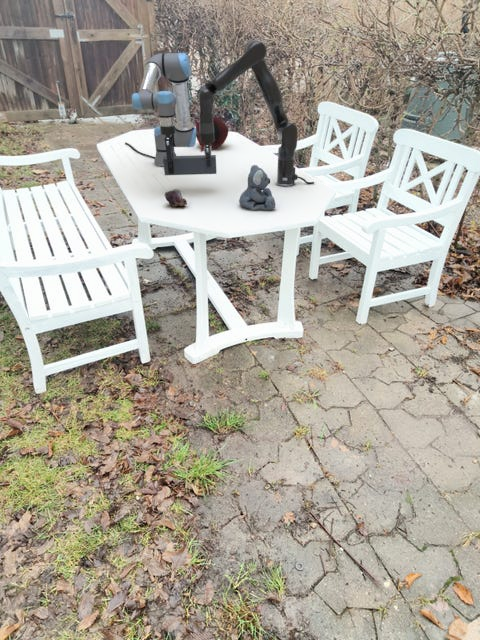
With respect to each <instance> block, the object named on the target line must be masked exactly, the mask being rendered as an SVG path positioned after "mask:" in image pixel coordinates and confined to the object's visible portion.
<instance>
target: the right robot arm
mask: <svg viewBox="0 0 480 640" xmlns="http://www.w3.org/2000/svg"><path fill="white" fill-rule="evenodd" d="M267 52H268V51H267V47H266V45H265V43H263V42H262V41H260V40H257V39H250V40H248V41H246V43H245V45H244V48H243V54H242V56H240V58H238V59H237V60H236V61H235V62H233V63H231V64H230V65H228V66H226V67H225V68H224V69H222V70H221V71H219V72H218V73H217V74H216V75H215V76H214V77H213V78H212V79H211V80H210V81H207V82H205V84H203V85H202V86H201V87H200V88H198V90H197V91H196V98H197V101H198V102H199V111H198V121H199V122H198V123H199V131H200V141H201V142H204V143H205V145H204V148H203V151H204V155H205V156H206V158H205V159H206V166H207V167H211V163H210V159H211V158H210V155H212V149H211V148H212V146H211V144H210V142H214V140H215V138H214V124H213V117H214V97H215V95H217V94H218V93H222V92H223V91H224V90H226V89H227V88H228V87H229V86H230V85H232V84H233V82H234V81H236V80H237V79H238V78H239V77H240V76H241V75H243V74H244V73H245V72H247V71H248V70H250V69H251V70H252V72H253V74H254V76H255V80H256V82H257V85H258V88H259V90H260V93H261V96H262V98H263V101H264V103H265V105H266V107H267V109H268V111H269V113H270V116H271V118H272V120H273V123H274V127H275V130H276V134H277V135H278V137H279V138H280V139H281V142H280V143H281V144H280V146H279V147H278V149H277V173H276V175H277V176H276V185H277V186H279V187H291V186H294V185H295V181H298V179H299V180H301V181H303V182H304V183H305V184H308V185H313V184H315V182H314V181H307V180H306V179H305V178H303V177H301V176H299V175H298V174H296V167H295V160H296V159H295V156H296V150H297V146H298V138H299V130H298V126H297V125H296V124H295V123H293V122H290V120H289V118H288V117H287V114H286V111H285V108H284V97H283V94H282V91H281V88H280V86H279V84H278V82H277V80H276V78H275V76H274V75H273V73H272V72H271V71H270V69H269V67H268V64H267V63H266V60H265V58H266V56H267ZM207 155H209V157H207Z"/></svg>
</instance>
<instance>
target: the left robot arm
mask: <svg viewBox="0 0 480 640" xmlns="http://www.w3.org/2000/svg"><path fill="white" fill-rule="evenodd" d="M191 76H192V66H191V61H190V57H189V56H188V54H187V53H183V52H166V53H165V52H164V53H163V52H161V53H156V54H154V55H152V56H151V57H150V58H149V59H148V60H146V63H145V64H144V67H143V77H142V81H141V83H140V88H139V90H138V92H134V93H132V95H131V104H132V107H133V109H134V110H141V111H144V110H158V111H157V112H158V121H159V126H156V127H155V128H154V129H153V136H154V145H155V155H154V156H153V155H150V154H146V153H143V152H141V151H139V150H138V149H136V148H135V147H134V146H132V145H131V144H130V143H129V142H124V144H125V145H127V146H129V147H130V148H131V149H132V150H134V151H135V152H136V153H137V154H140V155H142V156H145V157H148V158H152V159H154V165H155V166H157V167H163V168H164V163H163V158H164V156H167V160H166V162H168V172H169V174H174V169H173V160H172V156H177V153H176V151H175V148H194V147H195V146H196V141H197V138H196V126H194V123H193V122H192V121H191V112H190V111H191V110H190V102H189V91H188V90H189V89H188V82H189V81H190V78H191ZM160 78H168V82H169V83H171V87H172V92H171V91H169V90H161V91H158V92H155V91H156V87H157V83H158V80H160ZM174 110H175V112H174ZM175 121H176V122H175Z"/></svg>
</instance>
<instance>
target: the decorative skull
mask: <svg viewBox="0 0 480 640" xmlns="http://www.w3.org/2000/svg"><path fill="white" fill-rule="evenodd" d="M193 120H194V123H195V127H196V141H197V142H198V144H199V146H200V152H203V151H204V145H205V143H204V142H201V141H200V131H199V122H198V121H197V120H196V119H193ZM213 124H214V138H215V140H214V142H210V144H211V146H212V148H211V150H212V149H218V148H220V147H221V146H223V145H224V144H225V142H226V141H227V138H228V135H229V127H228V125H227V124H226V123H225V122H224V121H223V120H222V119H220V118H219V117H217V116H213Z"/></svg>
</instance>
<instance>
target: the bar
mask: <svg viewBox="0 0 480 640" xmlns="http://www.w3.org/2000/svg"><path fill="white" fill-rule="evenodd" d="M207 157H209V155H207ZM205 158H206V156H205V154H199V155H196V154H195V155H176V156H172V160H173V169H174V174H169V172H168V162H166V160H167V156H164V158H163V163H164V167H163V171H164V176H190V175H217V155H216V154H211V155H210V158H211V159H210V163H211V167H207V166H206V159H205Z"/></svg>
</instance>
